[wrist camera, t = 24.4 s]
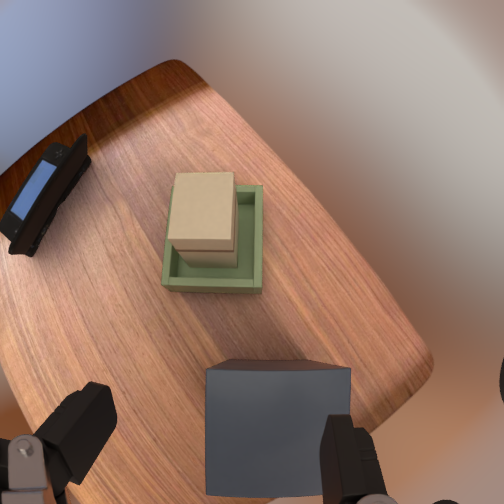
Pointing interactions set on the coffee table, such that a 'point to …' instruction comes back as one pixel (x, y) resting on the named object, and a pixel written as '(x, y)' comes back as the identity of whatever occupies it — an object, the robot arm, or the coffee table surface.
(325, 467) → the robot arm
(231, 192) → the tan lidded box
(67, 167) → the game console
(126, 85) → the coffee table surface
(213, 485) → the grey block
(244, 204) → the socket
